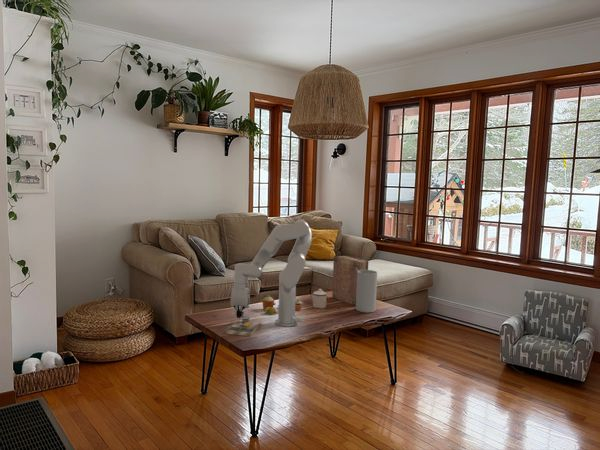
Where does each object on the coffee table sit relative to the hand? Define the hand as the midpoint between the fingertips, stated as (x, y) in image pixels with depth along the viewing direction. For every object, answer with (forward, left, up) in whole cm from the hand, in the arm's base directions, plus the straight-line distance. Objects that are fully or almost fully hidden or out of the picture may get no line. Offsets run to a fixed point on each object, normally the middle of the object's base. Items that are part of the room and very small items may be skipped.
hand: (239, 317), depth 261 cm
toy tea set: (-15, -33, -4) cm, 37 cm away
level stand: (-7, +10, -3) cm, 12 cm away
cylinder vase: (-67, -51, -4) cm, 84 cm away
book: (-54, -70, -4) cm, 88 cm away
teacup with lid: (-36, -50, -4) cm, 62 cm away
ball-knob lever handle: (-5, +5, -1) cm, 7 cm away
